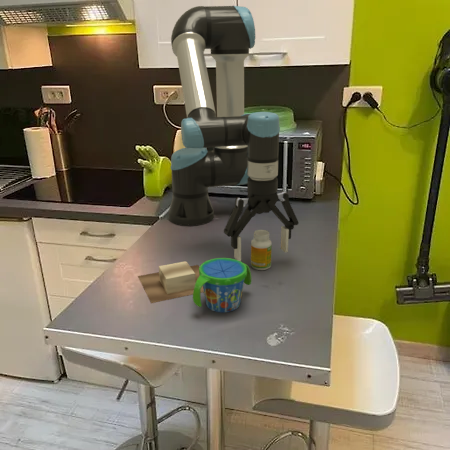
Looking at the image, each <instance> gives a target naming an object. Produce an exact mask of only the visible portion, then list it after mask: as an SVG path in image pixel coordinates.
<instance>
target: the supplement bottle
mask: <svg viewBox="0 0 450 450" xmlns="http://www.w3.org/2000/svg"><path fill="white" fill-rule="evenodd" d="M272 245H273V244H272V241H271V239H270V232H269V230H265V229H256V230H254V232H253V239H251V243H250V266H251V268H253V270H257V271H265V270H269V269H271V267H272V247H273V246H272Z"/></svg>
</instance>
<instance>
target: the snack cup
mask: <svg viewBox="0 0 450 450" xmlns="http://www.w3.org/2000/svg"><path fill="white" fill-rule="evenodd" d="M199 275H200V276H199V278H198V279H197V281H196V283H195V287H194V291H193V295H192V300H193V301H192V302H193V303H194V305H196V306H197V307H198V308H199V307H200V308H202V301H201V298H202V297H201V294H202V293H201V291H200V289H201V288H202V286H203V290H204V292H203V293H204V294H203V295H204V299H205V303H206V304H205V305H206V307H207V308H208V310H209V309H210V310H211V311H214V312H216V313H230V312H232V311H235V310H237V309H239V307H240V306H241V302H242V297H243V296H242V295H243V290H244V284H246V285H247V286H250V285H251V284H252V273H251V269H250V267H249V265H248V264H246V263H244V262H242V260H241V261H238V260H236V258H229V257H216V258H211V259H209V260H208V259H207V260H205V261H204V262H203V263H201V264H200V265H199Z"/></svg>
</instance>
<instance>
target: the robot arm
mask: <svg viewBox="0 0 450 450" xmlns="http://www.w3.org/2000/svg"><path fill="white" fill-rule="evenodd" d="M255 26H256V25H255V21H254V17H253V14H252V12H251V10H250V9H249V8H248V7H246V6H239V5H217V6H216V5H212V6H210V5H209V6H208V5H207V6H204V5H200V6H194V7H191V8H189V9H187V11H185V12H184V13H183V14H182V15H180V17H179V18H178V19H177V21H176V22H175V24H174V27H173V29H172V32H171V37H170V43H171V50H172V53H173V55H174V56H175V57H177V58H176V59H177V63H178V70H179V76H180V83H181V90H182V94H183V101H184V107H185V114H186V118H183V119H182V120H181V122H180V134H181V141H182V142H181V143H182V145H183V147H182V148H180V149H176V151H174V152H173V153H172V155H171V158H170V162H171V163H170V164H171V165H170V170H171V180H172V181H171V185H172V186H171V187H172V188H171V189H172V199H171V201H170V202H171V203H170V205H169V209H168V221H169V222H171V223H173V224H175V225H178V226H192V227H193V226H195V227H196V226H200V225H204V224H208V223H211V222H212V221H213V220H214V218H215V211H214V208H213V205H212V203H211V202H212V201H211V200H210V197H209V188H210V187H211V188H212V187H213V188H215V187H227V186H235V187H237V186H241V185H247V186H246V187H247V196H246V198H240V197H238V196H237V197H236V198H235V200H234V202H235V203H234V207H233V209H232V212H231V214H230V216H229V218H228V220H227V222H226V225H225V227H224V229H223V233H224V234H225V235H226V236H227V237H230V246H231V248H232V249H233V252H234V253H233V254H234V255H233V258H234V259H235V260H238V261H241V262H242V237H241V236H240V235H241V233H242V232H243V231H244V229H245V228H246V226H247V225H248V223H249V222H250V221H251V220H252V218H254V217H255V216H256V215H261V214H263V213H265V214H268V213H270V212H272V213H273V214H274V215H275V216H276V217H277V219H278V220H279V221H280V222H281V223H282V224H283V225H281V228H280V230H281V231H280V250H281V251H283V252H284V253H288V252H289V240H291V238H292V230H294V229H295V226H298V225H299V220H298V218H297V215H296V214H295V211H294V209H293V207H292V205H291V203H290V198H289V197H290V196H289V193H288V192H286V191H283V190H280V192H278V187H279V186H278V185H279V184H278V183H279V179H278V175H279V149H280V148H279V146H280V132H281V131H280V130H281V127H280V117H279V115H278V114H277V113H275V112H272V111H271V112H270V111H256V112H251V113H250V112H249V113H245V59H247V58H248V56H250V49H252V48H254V47H255V44H256V27H255ZM205 50H210V56H211V58H213V60H215V74H216V76H215V82H216V83H215V84H216V85H215V86H216V108H215V104H214V98H213V97H214V96H213V93H212V88H211V83H210V79H209V73H208V68H207V63H206V59H205V53H204V52H205ZM207 148H212V149H213V150H208V149H207ZM278 201H280V203H281V204H282V207H283V209H284V211H285V213H286V215H287V217H288V218H287V217H286V216H285V215H284V214H283V213H282V212H281V211H280V208H278V207H277V206H276V204H277V202H278ZM246 205H247V206H246ZM245 207H246V208H245ZM244 208H245V210H244ZM243 211H244V212H243ZM242 213H243V214H242ZM241 214H242V215H241Z"/></svg>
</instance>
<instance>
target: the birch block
mask: <svg viewBox="0 0 450 450" xmlns="http://www.w3.org/2000/svg"><path fill="white" fill-rule="evenodd" d="M190 266H191V265H190V264H189V263H188V262H187V261H180V262H179V261H178V262H174V263H170V264H169V263H167V264H164V265H158V272H159V277H160V282H161V284H162V286H163V287H164V289H165V291H166V293H167V294H170V293H175V292H180V291H185V290H189V289H194V287H195V273H194V271H193V270H192V269H191V267H190Z"/></svg>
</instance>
